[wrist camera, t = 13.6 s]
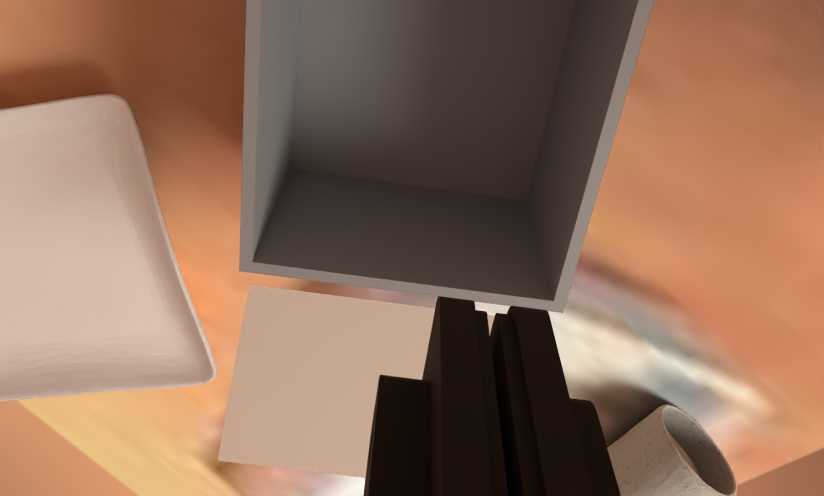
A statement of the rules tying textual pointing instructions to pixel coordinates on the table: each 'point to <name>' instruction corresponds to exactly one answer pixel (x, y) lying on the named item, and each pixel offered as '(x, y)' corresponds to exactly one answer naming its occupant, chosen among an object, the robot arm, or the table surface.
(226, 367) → the table surface
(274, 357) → the flap
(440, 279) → the carton
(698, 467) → the ceramic mug
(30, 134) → the salad plate
